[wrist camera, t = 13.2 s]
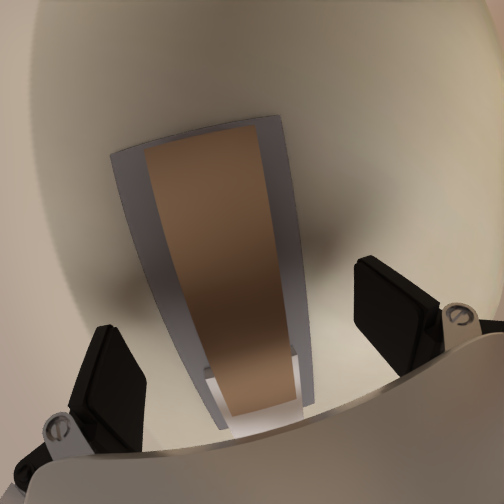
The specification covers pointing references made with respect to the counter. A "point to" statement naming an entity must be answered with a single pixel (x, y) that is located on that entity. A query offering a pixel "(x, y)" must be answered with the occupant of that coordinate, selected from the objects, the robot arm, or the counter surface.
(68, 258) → the counter surface
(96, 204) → the counter surface
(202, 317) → the scraper
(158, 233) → the tool mat
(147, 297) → the counter surface
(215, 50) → the counter surface
